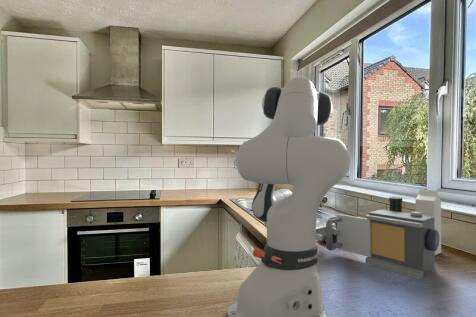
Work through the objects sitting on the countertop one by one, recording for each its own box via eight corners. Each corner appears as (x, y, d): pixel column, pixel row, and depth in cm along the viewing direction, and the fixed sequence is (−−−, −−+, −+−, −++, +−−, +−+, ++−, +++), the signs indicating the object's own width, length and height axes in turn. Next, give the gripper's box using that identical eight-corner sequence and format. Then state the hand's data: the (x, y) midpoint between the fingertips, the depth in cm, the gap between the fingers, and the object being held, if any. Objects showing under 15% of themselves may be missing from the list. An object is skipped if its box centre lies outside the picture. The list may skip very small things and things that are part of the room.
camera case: (426, 281, 81) (426, 219, 81) (365, 263, 95) (365, 210, 95) (440, 272, 88) (440, 214, 87) (381, 256, 102) (381, 206, 101)
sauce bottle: (388, 250, 108) (388, 195, 108) (408, 253, 104) (407, 196, 104) (384, 254, 103) (383, 197, 103) (404, 258, 99) (404, 199, 99)
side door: (356, 262, 90) (356, 223, 90) (323, 252, 100) (323, 216, 100) (371, 256, 96) (371, 219, 95) (338, 247, 105) (338, 213, 105)
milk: (422, 248, 110) (422, 188, 110) (441, 252, 105) (441, 190, 105) (415, 251, 106) (414, 190, 106) (434, 256, 101) (434, 191, 101)
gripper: (279, 223, 104) (310, 231, 93) (316, 215, 116) (348, 221, 105) (279, 241, 104) (311, 251, 93) (316, 231, 116) (348, 239, 105)
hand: (331, 235), depth 99 cm, fingers open, 8 cm apart
